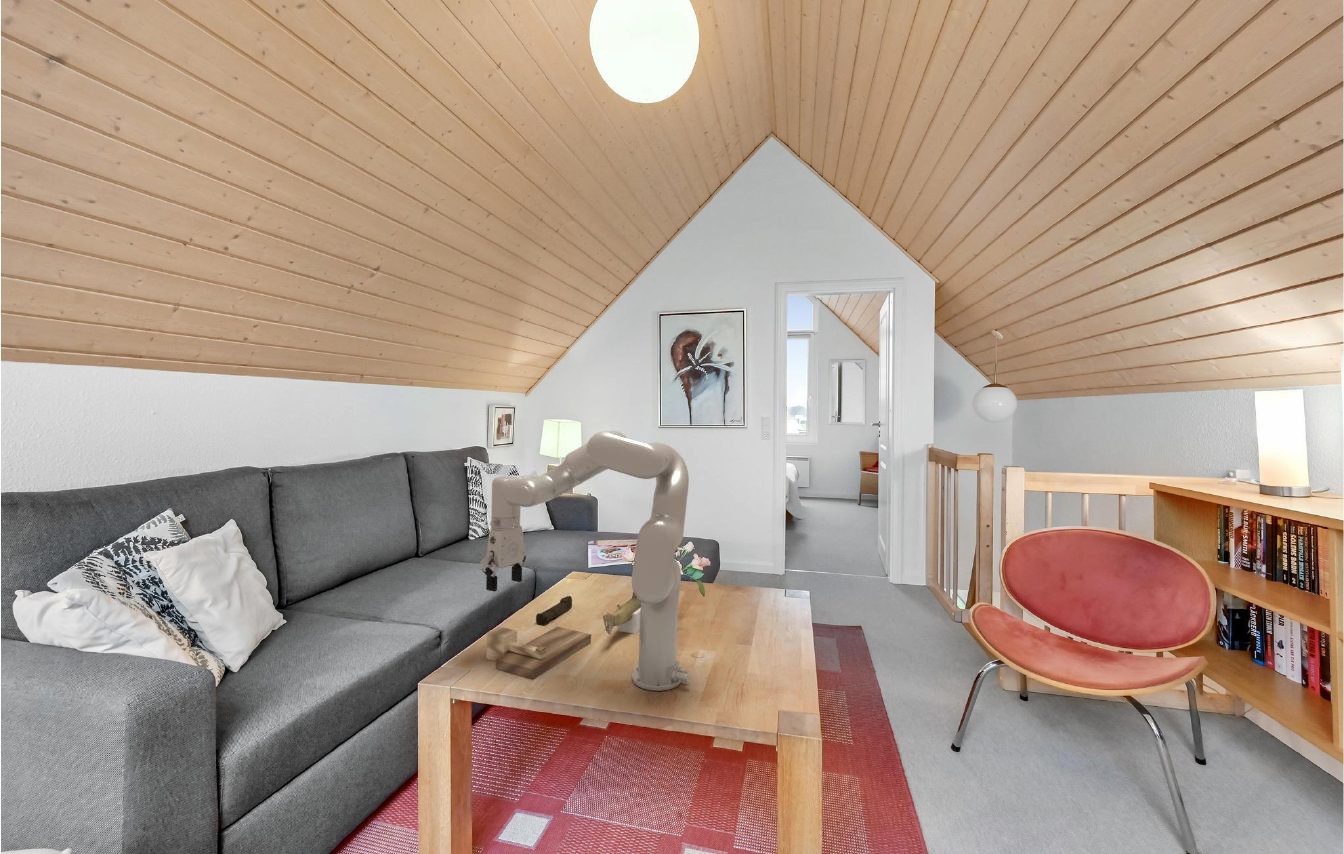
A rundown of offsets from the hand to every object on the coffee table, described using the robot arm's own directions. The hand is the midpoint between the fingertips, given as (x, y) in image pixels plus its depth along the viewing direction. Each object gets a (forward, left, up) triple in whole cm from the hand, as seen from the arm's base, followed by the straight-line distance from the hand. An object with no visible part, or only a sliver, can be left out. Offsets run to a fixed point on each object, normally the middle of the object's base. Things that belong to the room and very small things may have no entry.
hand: (504, 585), depth 148 cm
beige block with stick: (-5, 0, -20) cm, 20 cm away
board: (-9, -7, -20) cm, 23 cm away
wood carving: (-20, -33, -20) cm, 43 cm away
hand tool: (+7, -33, -20) cm, 39 cm away
